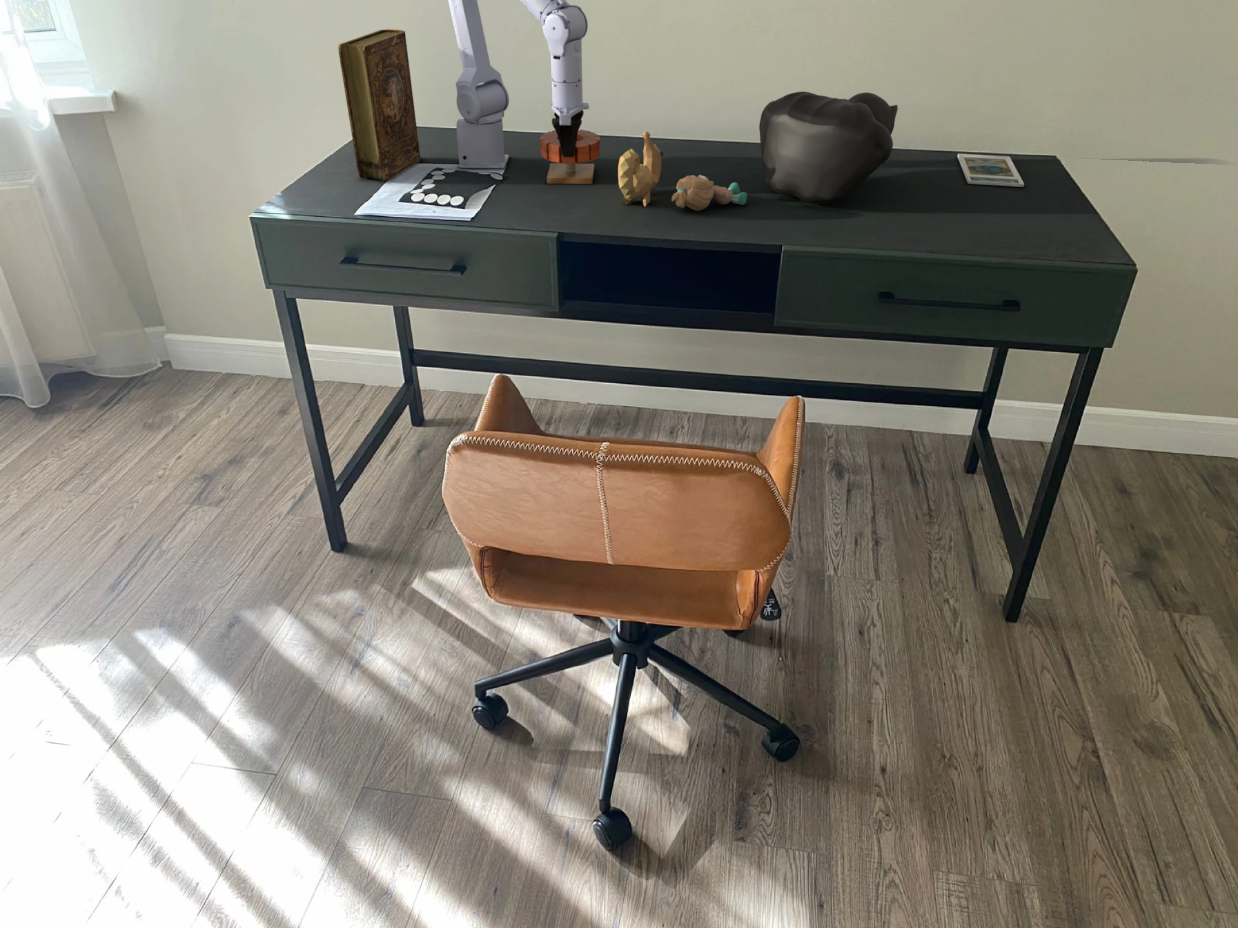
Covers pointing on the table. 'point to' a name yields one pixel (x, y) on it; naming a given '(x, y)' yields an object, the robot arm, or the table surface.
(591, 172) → the rack
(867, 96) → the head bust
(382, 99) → the book
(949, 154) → the table surface
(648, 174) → the toy
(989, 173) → the trading card
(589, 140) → the ring
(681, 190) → the toy
